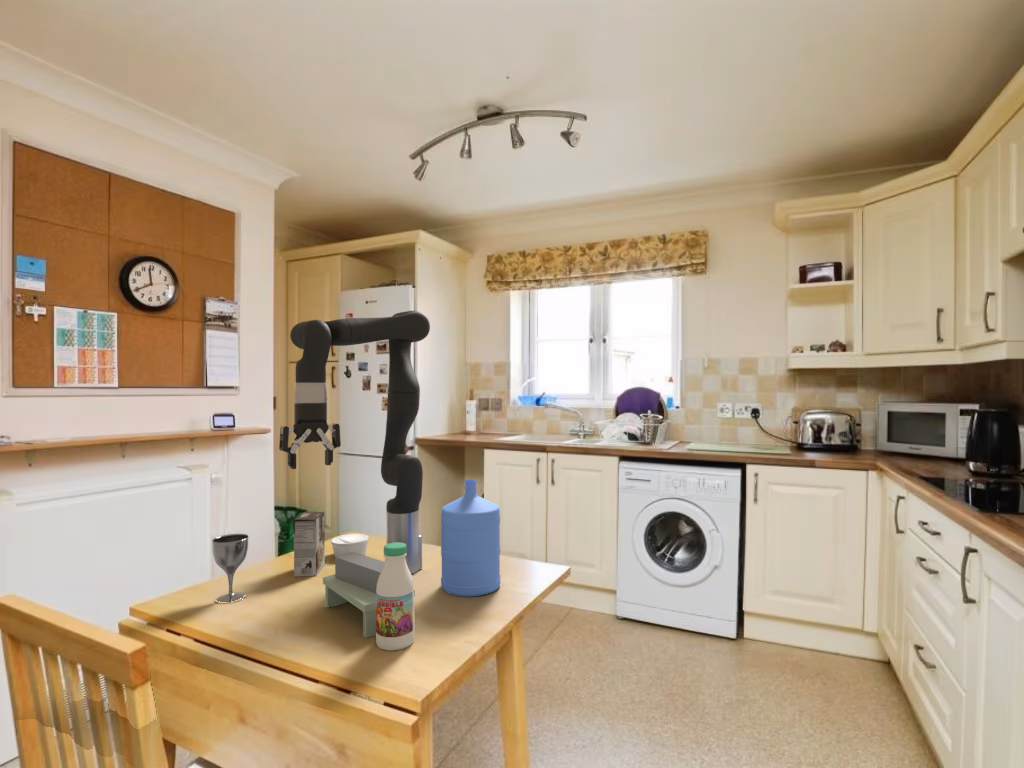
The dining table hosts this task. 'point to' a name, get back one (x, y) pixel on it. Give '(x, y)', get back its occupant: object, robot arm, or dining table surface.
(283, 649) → the dining table surface
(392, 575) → the milk bottle
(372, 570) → the grey rectangular brick
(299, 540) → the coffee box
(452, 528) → the water jug
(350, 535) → the ramekin
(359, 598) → the sage shelf
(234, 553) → the wine glass
